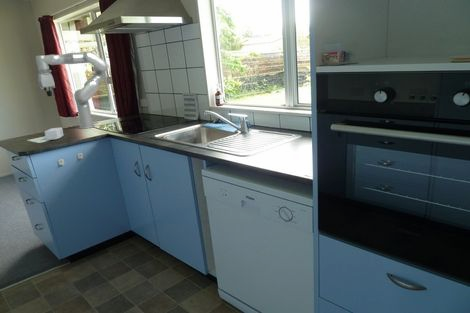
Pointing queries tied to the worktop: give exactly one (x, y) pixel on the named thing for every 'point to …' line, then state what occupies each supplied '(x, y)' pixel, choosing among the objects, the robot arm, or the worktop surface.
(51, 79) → the robot arm
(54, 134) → the small box
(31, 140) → the mat
